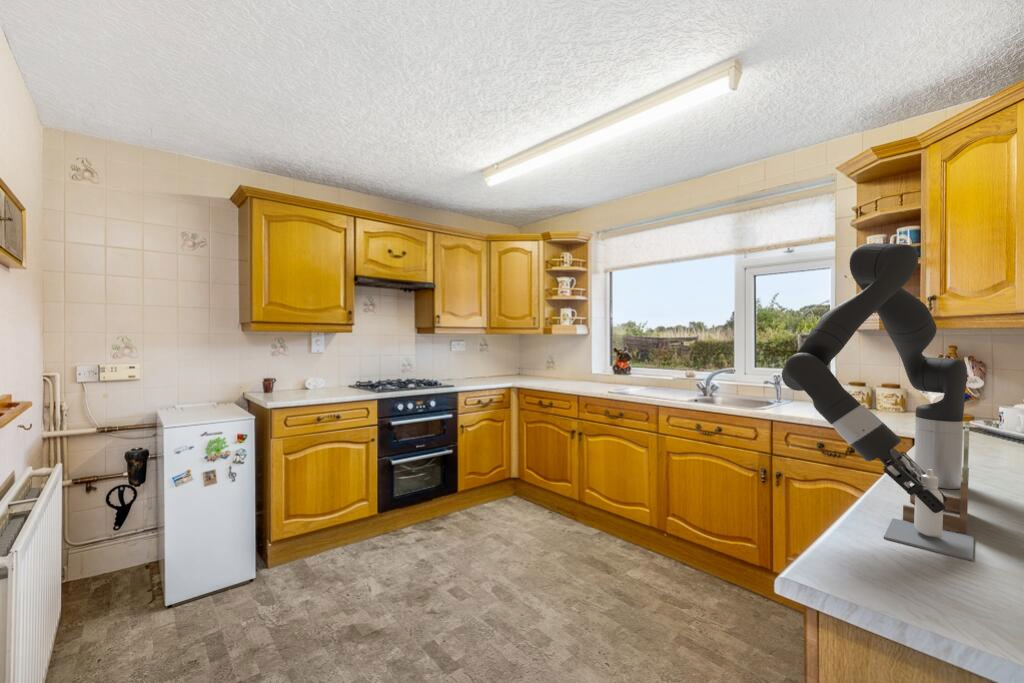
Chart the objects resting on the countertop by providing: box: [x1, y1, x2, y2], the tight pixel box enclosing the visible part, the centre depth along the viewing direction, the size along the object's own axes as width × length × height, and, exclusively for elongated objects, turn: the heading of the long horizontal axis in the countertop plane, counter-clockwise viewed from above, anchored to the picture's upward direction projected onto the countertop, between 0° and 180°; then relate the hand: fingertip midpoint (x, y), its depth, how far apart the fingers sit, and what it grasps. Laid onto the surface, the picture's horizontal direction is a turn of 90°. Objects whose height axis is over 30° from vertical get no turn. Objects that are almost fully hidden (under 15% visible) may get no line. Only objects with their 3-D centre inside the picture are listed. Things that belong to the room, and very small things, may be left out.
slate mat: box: [883, 517, 975, 562], centre depth 88 cm, size 13×12×1 cm
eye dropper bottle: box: [914, 469, 944, 537], centre depth 88 cm, size 4×6×12 cm
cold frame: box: [902, 421, 970, 535], centre depth 99 cm, size 16×10×20 cm, turn 135°
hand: (941, 506), depth 87 cm, fingers closed on eye dropper bottle, 5 cm apart
